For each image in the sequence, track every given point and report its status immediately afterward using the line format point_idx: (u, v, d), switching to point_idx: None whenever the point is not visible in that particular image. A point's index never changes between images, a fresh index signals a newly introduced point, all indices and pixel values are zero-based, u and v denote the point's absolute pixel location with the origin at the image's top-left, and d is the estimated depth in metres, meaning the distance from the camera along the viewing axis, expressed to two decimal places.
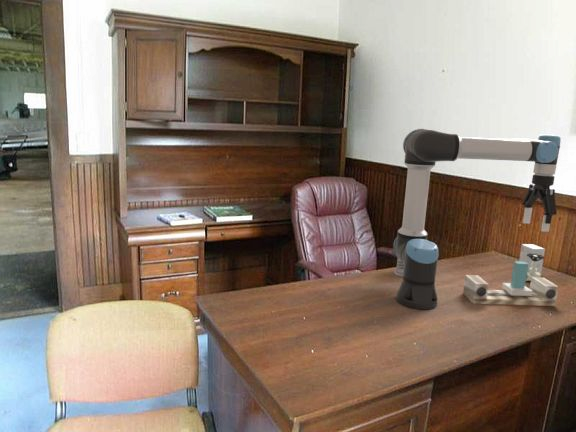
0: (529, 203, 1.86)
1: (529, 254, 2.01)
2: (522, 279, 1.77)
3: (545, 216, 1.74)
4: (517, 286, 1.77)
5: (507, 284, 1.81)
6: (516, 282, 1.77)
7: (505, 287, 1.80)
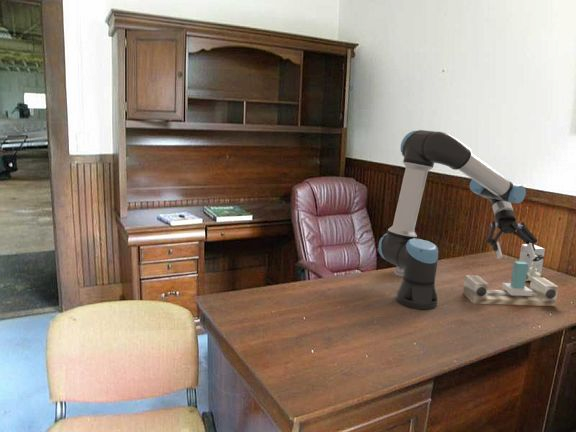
0: None
1: None
2: (522, 279, 1.77)
3: None
4: (517, 286, 1.77)
5: (507, 284, 1.81)
6: (516, 282, 1.77)
7: (505, 287, 1.80)
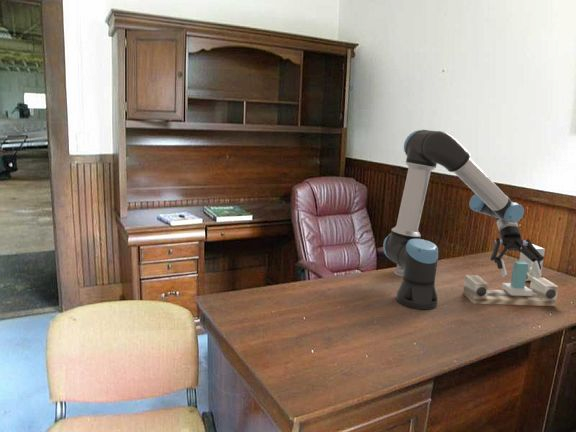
0: (502, 255, 1.80)
1: None
2: (522, 279, 1.77)
3: None
4: (517, 286, 1.77)
5: (507, 284, 1.81)
6: (516, 282, 1.77)
7: (505, 287, 1.80)
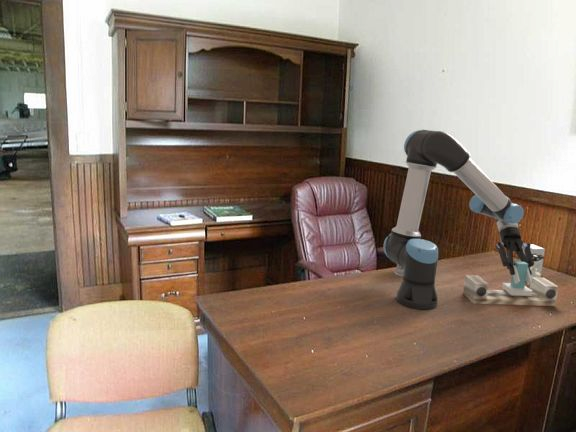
0: None
1: None
2: (522, 279, 1.77)
3: None
4: (517, 286, 1.77)
5: (507, 284, 1.81)
6: None
7: (505, 287, 1.80)
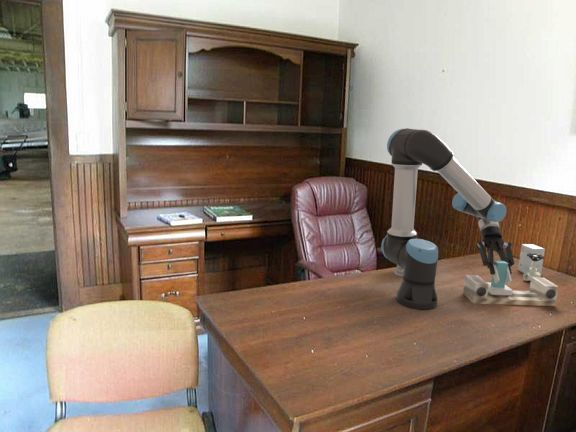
0: None
1: (529, 254, 2.01)
2: (502, 278, 1.76)
3: None
4: (498, 285, 1.77)
5: (488, 283, 1.81)
6: None
7: None
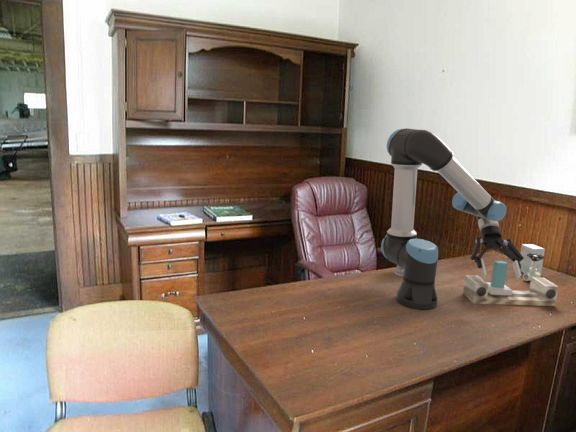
0: (482, 255, 1.80)
1: (529, 254, 2.01)
2: (502, 278, 1.76)
3: None
4: (497, 285, 1.77)
5: None
6: (496, 281, 1.77)
7: None
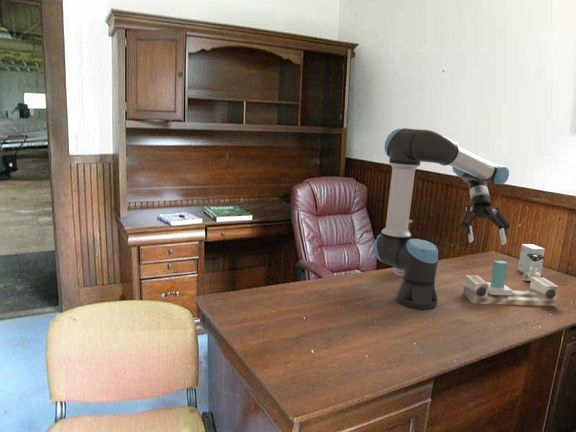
0: None
1: (529, 254, 2.01)
2: (502, 278, 1.76)
3: None
4: (497, 285, 1.77)
5: None
6: (496, 281, 1.77)
7: None
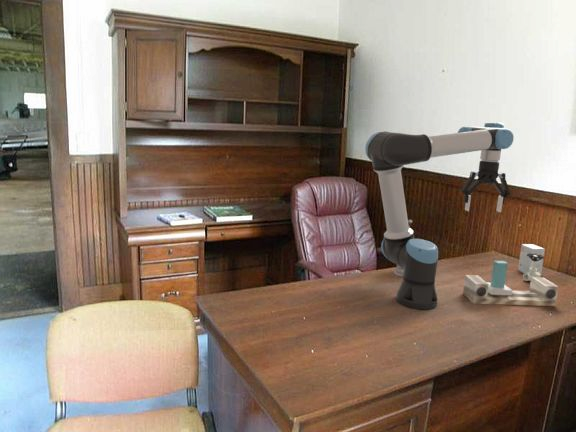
0: None
1: (529, 254, 2.01)
2: (502, 278, 1.76)
3: (502, 198, 1.89)
4: (497, 285, 1.77)
5: None
6: (496, 281, 1.77)
7: None
